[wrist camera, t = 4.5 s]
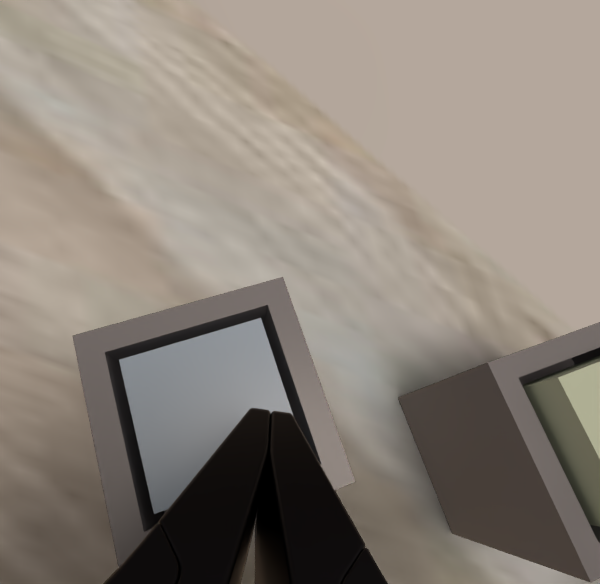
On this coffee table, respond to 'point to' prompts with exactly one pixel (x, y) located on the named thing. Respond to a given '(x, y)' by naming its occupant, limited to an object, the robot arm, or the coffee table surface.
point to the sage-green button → (573, 427)
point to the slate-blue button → (197, 401)
